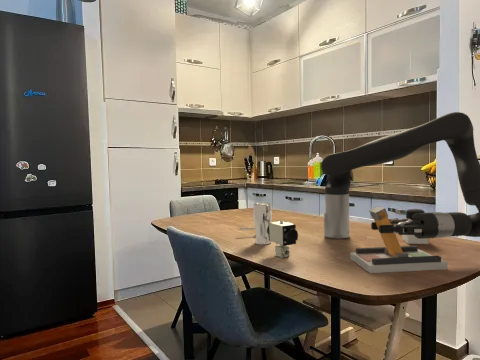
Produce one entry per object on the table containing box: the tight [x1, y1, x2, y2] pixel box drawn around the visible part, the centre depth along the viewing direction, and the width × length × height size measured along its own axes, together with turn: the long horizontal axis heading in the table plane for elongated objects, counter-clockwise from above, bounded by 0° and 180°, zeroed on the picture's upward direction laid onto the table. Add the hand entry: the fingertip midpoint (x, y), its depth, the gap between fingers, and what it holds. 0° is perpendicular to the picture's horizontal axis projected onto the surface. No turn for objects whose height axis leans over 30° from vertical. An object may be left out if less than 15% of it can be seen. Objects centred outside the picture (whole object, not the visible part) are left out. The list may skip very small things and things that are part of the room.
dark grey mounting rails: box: [355, 245, 442, 265], centre depth 103 cm, size 19×13×1 cm
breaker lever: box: [368, 205, 403, 257], centre depth 103 cm, size 3×5×15 cm, turn 3°
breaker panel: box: [350, 246, 449, 274], centre depth 103 cm, size 22×14×4 cm, turn 93°
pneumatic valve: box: [267, 219, 299, 259], centre depth 115 cm, size 6×12×12 cm, turn 28°
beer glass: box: [252, 202, 273, 246], centre depth 134 cm, size 7×7×15 cm
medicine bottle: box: [402, 208, 430, 245], centre depth 128 cm, size 7×7×12 cm
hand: (375, 227), depth 102 cm, fingers closed on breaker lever, 4 cm apart
